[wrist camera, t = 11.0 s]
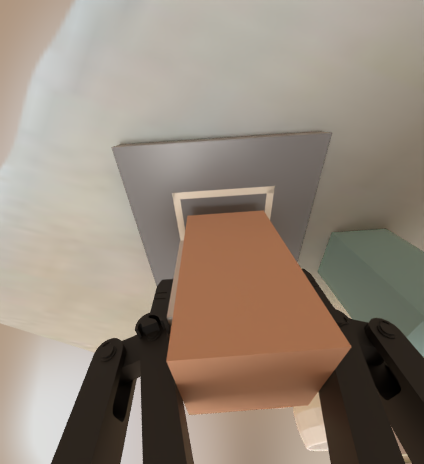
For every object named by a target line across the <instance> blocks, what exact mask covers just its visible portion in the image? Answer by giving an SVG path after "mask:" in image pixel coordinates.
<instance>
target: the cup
mask: <svg viewBox="0 0 424 464" xmlns="http://www.w3.org/2000/svg"><path fill="white" fill-rule="evenodd" d="M293 409H294V418H295V422H296V425H297V428H298V432H299V434H300V436H301V439H302V441H303V442H304V445H305V447H306V448H307V449H308V450H311V451H325V450H328V444H327V438H326V432H325V427H324V421H323V415H322V409H321V404H320V398H319V392H318V393H317V394H316V396H315V397H314V398H313V400H312V401H311V402H310V404H309V405H308V406H295V407H293Z"/></svg>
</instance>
